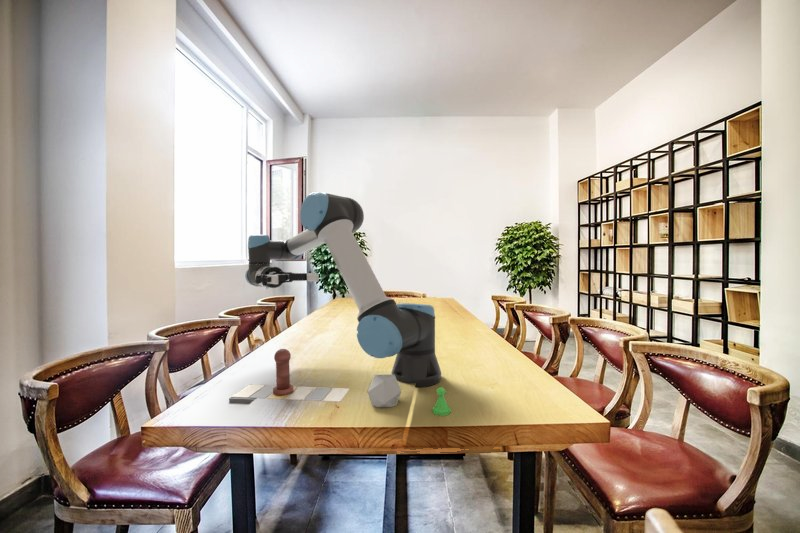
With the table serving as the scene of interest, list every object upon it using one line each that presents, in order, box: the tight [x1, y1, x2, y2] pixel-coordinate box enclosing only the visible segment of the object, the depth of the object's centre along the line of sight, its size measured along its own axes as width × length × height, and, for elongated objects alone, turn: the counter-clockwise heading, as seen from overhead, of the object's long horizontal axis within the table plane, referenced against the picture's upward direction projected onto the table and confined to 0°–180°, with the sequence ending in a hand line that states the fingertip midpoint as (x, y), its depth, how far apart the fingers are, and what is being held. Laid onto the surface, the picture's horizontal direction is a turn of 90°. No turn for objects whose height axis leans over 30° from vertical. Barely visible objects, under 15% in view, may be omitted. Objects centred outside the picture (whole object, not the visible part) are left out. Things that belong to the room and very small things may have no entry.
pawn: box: [272, 348, 294, 396], centre depth 92 cm, size 5×5×12 cm
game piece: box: [431, 386, 451, 416], centre depth 82 cm, size 4×4×6 cm
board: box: [228, 383, 350, 404], centre depth 92 cm, size 30×10×1 cm, turn 82°
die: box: [367, 374, 402, 408], centre depth 85 cm, size 8×9×10 cm
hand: (298, 278), depth 107 cm, fingers open, 13 cm apart
